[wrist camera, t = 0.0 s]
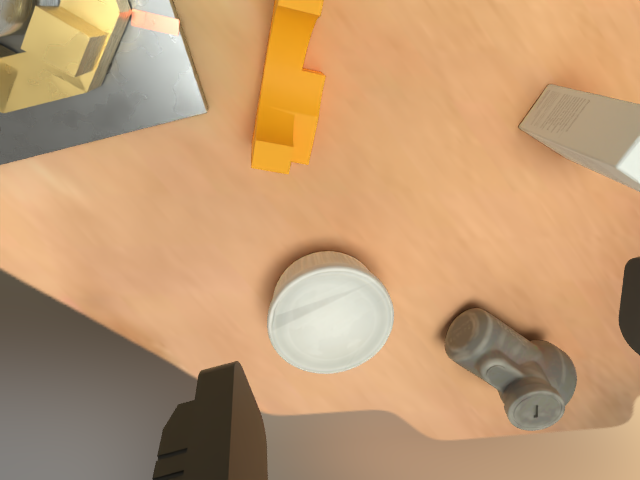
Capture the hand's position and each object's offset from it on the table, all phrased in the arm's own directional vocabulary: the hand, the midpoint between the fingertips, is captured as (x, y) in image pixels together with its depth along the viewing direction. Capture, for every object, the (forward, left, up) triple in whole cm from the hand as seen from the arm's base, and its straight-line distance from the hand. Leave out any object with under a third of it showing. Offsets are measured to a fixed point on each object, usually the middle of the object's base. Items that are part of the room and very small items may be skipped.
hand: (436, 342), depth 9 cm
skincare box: (+7, +21, -30) cm, 37 cm away
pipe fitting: (+29, +14, -30) cm, 44 cm away
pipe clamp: (-2, 0, -30) cm, 30 cm away
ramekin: (+18, -2, -30) cm, 35 cm away
